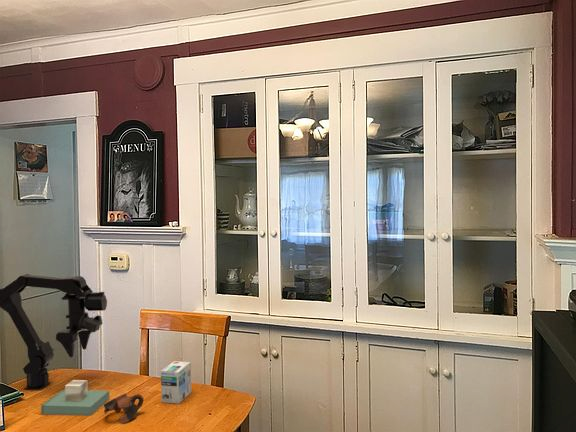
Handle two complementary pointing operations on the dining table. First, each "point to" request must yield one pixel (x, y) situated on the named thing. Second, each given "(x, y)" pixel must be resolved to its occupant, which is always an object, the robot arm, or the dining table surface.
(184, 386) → the light bulb box
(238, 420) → the dining table surface
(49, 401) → the green book
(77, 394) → the wooden cube
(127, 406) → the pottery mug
